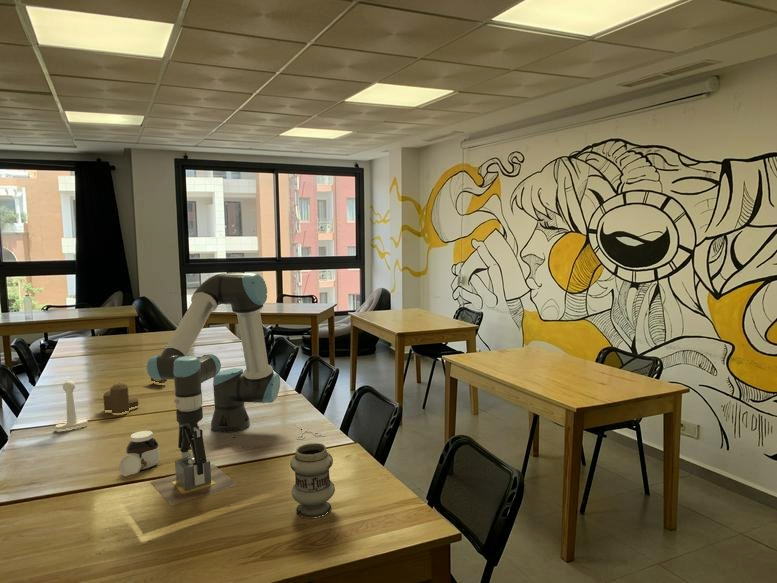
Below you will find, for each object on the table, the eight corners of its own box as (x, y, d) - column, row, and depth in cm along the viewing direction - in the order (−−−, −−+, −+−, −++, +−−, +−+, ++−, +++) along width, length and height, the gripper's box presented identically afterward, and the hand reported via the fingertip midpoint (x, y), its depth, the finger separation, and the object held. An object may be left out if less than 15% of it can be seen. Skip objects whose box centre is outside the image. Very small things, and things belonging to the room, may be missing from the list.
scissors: (298, 441, 204) (284, 424, 222) (299, 443, 204) (284, 426, 222) (325, 436, 208) (309, 420, 226) (325, 438, 209) (309, 421, 226)
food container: (174, 384, 288) (173, 365, 287) (164, 386, 282) (163, 368, 281) (159, 381, 294) (158, 362, 293) (149, 383, 289) (148, 365, 288)
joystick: (57, 433, 217) (53, 384, 215) (55, 428, 223) (51, 380, 221) (88, 427, 224) (84, 379, 222) (85, 422, 230) (82, 376, 228)
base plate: (150, 486, 169) (150, 481, 169) (213, 468, 182) (212, 463, 181) (171, 511, 154) (170, 505, 153) (238, 489, 166) (237, 484, 166)
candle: (137, 413, 240) (135, 380, 239) (103, 418, 235) (100, 384, 233) (138, 405, 253) (136, 373, 251) (105, 409, 247) (103, 377, 246)
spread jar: (160, 460, 189) (158, 428, 188) (159, 474, 178) (157, 439, 177) (122, 466, 184) (119, 433, 183) (118, 480, 174) (116, 445, 173)
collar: (176, 482, 168) (174, 460, 167) (201, 474, 173) (200, 453, 172) (185, 491, 162) (183, 468, 161) (211, 483, 167) (210, 461, 166)
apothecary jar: (283, 510, 153) (281, 448, 151) (317, 495, 162) (315, 436, 160) (309, 525, 145) (306, 460, 143) (344, 509, 153) (342, 447, 151)
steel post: (187, 483, 168) (185, 458, 167) (196, 480, 170) (195, 455, 169) (190, 486, 165) (189, 461, 165) (200, 483, 167) (198, 458, 166)
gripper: (164, 401, 171) (169, 469, 174) (189, 420, 154) (194, 494, 156) (188, 397, 176) (192, 462, 178) (215, 414, 159) (219, 486, 161)
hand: (193, 477), depth 167 cm, fingers open, 10 cm apart
